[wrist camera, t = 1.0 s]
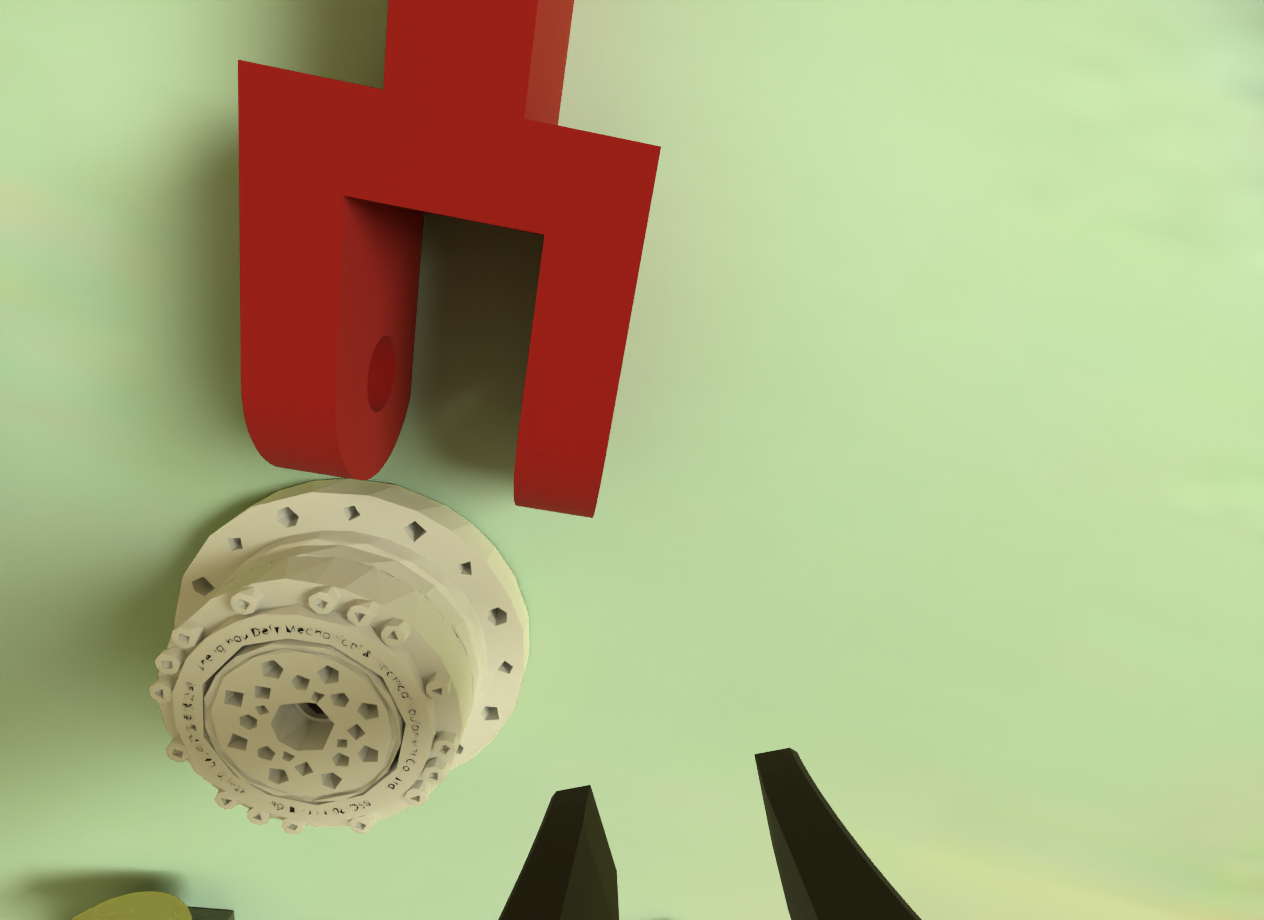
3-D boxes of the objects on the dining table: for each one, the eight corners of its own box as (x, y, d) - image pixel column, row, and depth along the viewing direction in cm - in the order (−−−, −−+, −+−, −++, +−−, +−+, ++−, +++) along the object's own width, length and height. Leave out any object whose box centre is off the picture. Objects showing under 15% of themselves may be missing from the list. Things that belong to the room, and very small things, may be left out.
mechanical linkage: (596, 475, 18) (588, 554, 13) (344, 433, 18) (242, 500, 13) (720, -227, 13) (775, -495, 9) (376, -314, 13) (231, -650, 8)
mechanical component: (271, 411, 17) (162, 676, 20) (160, 462, 13) (41, 789, 16) (588, 570, 19) (449, 795, 22) (579, 660, 15) (408, 925, 18)
